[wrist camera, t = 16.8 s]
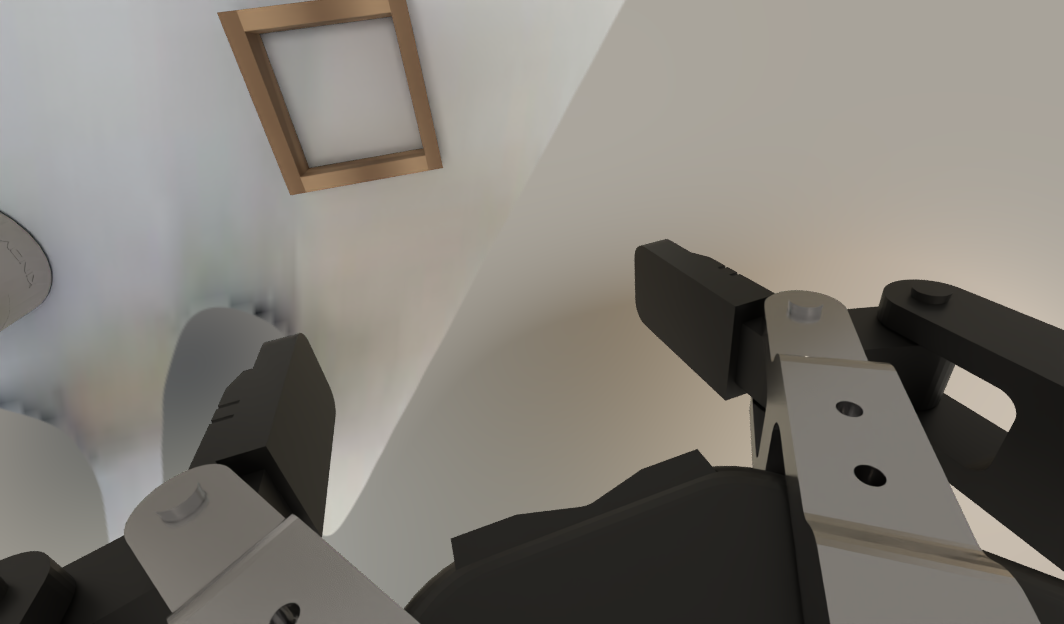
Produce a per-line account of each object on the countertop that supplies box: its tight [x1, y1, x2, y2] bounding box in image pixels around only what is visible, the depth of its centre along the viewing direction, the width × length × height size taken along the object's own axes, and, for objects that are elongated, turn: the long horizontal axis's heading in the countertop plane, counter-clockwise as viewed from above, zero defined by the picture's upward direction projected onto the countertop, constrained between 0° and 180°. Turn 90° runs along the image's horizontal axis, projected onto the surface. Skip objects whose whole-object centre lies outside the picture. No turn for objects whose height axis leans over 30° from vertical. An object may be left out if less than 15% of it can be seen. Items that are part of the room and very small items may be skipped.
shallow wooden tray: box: [217, 0, 443, 195], centre depth 29 cm, size 10×10×3 cm
